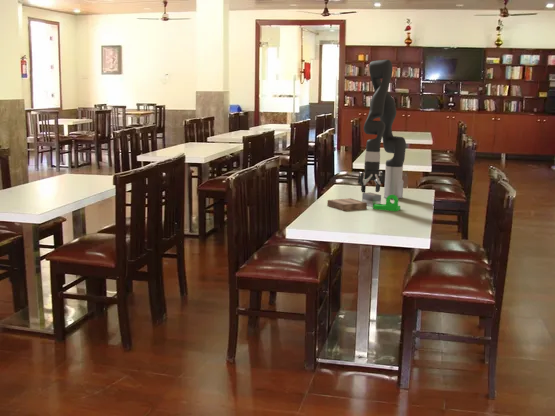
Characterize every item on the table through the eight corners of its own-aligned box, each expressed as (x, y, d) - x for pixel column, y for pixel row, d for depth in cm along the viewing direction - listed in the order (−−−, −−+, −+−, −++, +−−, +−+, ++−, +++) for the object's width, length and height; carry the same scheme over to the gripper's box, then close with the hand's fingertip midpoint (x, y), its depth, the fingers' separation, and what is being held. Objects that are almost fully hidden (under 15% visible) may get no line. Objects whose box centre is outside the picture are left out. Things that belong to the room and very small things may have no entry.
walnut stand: (350, 204, 323) (350, 198, 322) (366, 208, 311) (366, 202, 310) (327, 205, 316) (327, 200, 316) (343, 210, 304) (343, 204, 304)
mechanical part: (400, 209, 311) (401, 194, 310) (396, 211, 306) (397, 195, 304) (377, 207, 317) (377, 191, 315) (373, 209, 311) (373, 193, 310)
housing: (369, 203, 326) (370, 192, 325) (380, 206, 318) (381, 195, 317) (361, 204, 324) (362, 192, 322) (372, 207, 316) (373, 195, 315)
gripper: (379, 159, 323) (377, 190, 326) (356, 159, 317) (354, 191, 320) (388, 161, 317) (386, 192, 319) (365, 161, 310) (363, 193, 313)
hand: (370, 192), depth 319 cm, fingers open, 8 cm apart
